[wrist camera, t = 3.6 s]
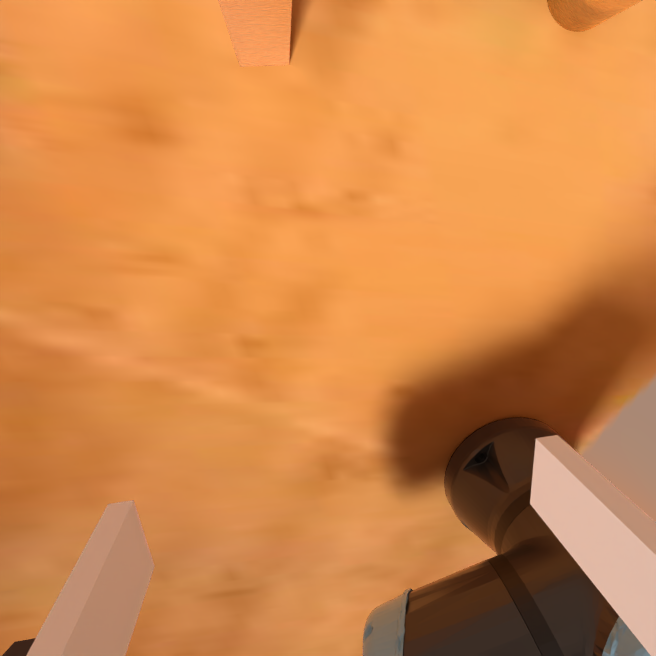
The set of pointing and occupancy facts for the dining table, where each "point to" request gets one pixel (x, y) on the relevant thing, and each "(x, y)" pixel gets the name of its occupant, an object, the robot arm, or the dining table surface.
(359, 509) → the dining table surface
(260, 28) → the square bit
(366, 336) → the dining table surface
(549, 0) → the round bit
